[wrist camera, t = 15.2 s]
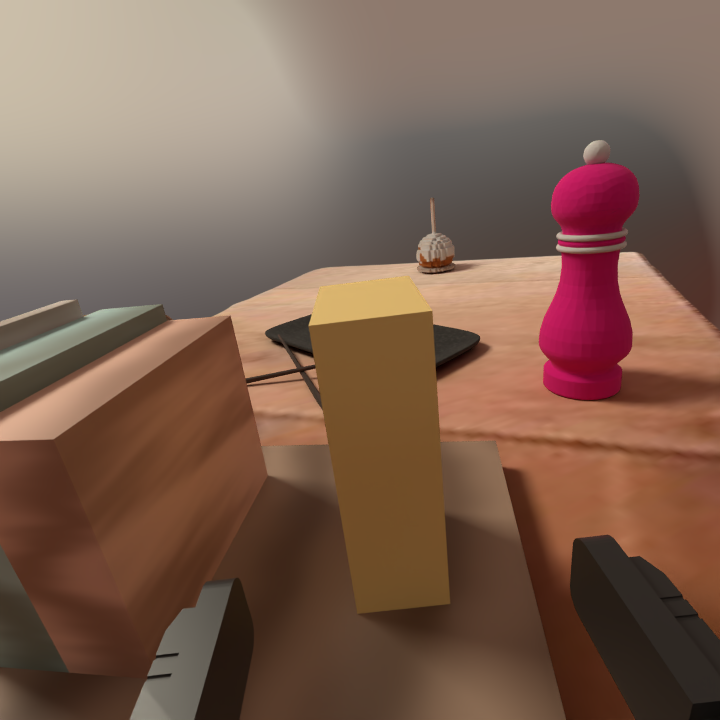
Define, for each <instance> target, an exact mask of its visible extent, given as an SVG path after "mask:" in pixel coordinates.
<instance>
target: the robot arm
mask: <svg viewBox="0 0 720 720" xmlns="http://www.w3.org/2000/svg"><path fill="white" fill-rule="evenodd" d="M570 590H571V596H572V600H573V603H574V606H575V609H576V611H577V613H578V615H579V617H580V619H581V621H582V623H583V625H584V626H585V628H586V630H587V632H588V634H589V635H590V637H591V639H592V641H593V643H594V645H595V646H596V648H597V650H598V652H599V654H600V655H601V657H602V659H603V661H604V663H605V665H606V666H607V668H608V670H609V672H610V674H611V675H612V677H613V679H614V681H615V683H616V685H617V686H618V688H619V690H620V692H621V694H622V695H623V697H624V699H625V701H626V703H627V705H628V706H629V708H630V710H631V712H632V714H633V715H634V717H635V719H636V720H720V640H719V639H718V637H717V636H716V635H715V634H714V633H713V631H712V630H711V629H710V628H709V627H708V625H707V624H706V623H705V622H704V621H703V619H700V618H699V617H698V613H697V612H696V611H695V610H694V609H693V607H692V606H691V605H690V604H689V603H688V601H687V600H684V599H683V597H682V594H681V593H680V592H679V591H678V589H677V588H676V587H675V586H674V585H673V583H672V582H671V581H670V580H669V579H668V577H667V576H666V575H665V574H664V573H663V572H661V571H660V570H659V569H657V568H656V567H654V566H653V565H652V564H650V563H649V562H647V561H646V560H645V559H643V558H642V557H640V556H637V557H628V556H627V555H626V553H625V552H624V551H623V550H622V548H621V547H620V546H619V544H618V543H617V542H616V541H615V539H614V538H613V537H611V536H610V535H601V536H593V537H585V538H576V539H575V540H574V542H573V552H572V565H571V579H570ZM253 646H254V627H253V621H252V617H251V614H250V610H249V607H248V604H247V600H246V597H245V593H244V590H243V587H242V583H241V581H240V579H239V578H230V579H221V580H213V581H207V582H205V584H204V585H203V587H202V590H201V593H200V595H199V598H198V601H197V604H196V607H194V608H186V609H182V610H181V612H180V613H179V614H178V615H177V617H176V618H175V619H174V621H173V622H172V623H171V624H170V626H169V627H168V628H167V629H166V631H165V633H164V636H163V638H162V641H161V643H160V646H159V648H158V651H157V653H156V659H155V660H153V663H152V665H151V668H150V670H149V673H148V675H147V681H145V683H144V685H143V688H142V690H141V693H140V695H139V698H138V700H137V703H136V705H135V708H134V710H133V712H132V715H131V717H130V720H239V719H240V714H241V709H242V704H243V699H244V694H245V689H246V684H247V679H248V673H249V668H250V663H251V658H252V653H253Z"/></svg>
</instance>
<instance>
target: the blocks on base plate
mask: <svg viewBox="0 0 720 720" xmlns="http://www.w3.org/2000/svg"><path fill="white" fill-rule="evenodd" d="M440 445H441V462H442V478H443V494H444V510H445V527H446V543H447V559H448V576H449V592H450V604H445V605H436V606H426V607H417V608H408V609H398V610H389V611H379V612H370V613H360V614H357V609H356V603H355V597H354V591H353V585H352V579H351V573H350V567H349V561H348V556H347V550H346V544H345V538H344V532H343V526H342V520H341V514H340V508H339V503H338V497H337V491H336V485H335V479H334V473H333V467H332V461H331V455H330V450H329V445H292V446H261V443H260V439H259V435H258V430H257V426H256V422H255V418H254V413H253V409H252V405H251V401H250V396H249V392H248V388H247V384H246V379H245V375H244V371H243V367H242V362H241V358H240V354H239V350H238V345H237V341H236V337H235V333H234V328H233V324H232V320H231V316H220V317H208V318H195V319H183V320H170V321H167V319H166V315H165V312H164V308H163V305H162V304H159V305H148V306H137V307H126V308H114V309H103V310H99V311H97V312H94V313H92V314H90V315H87V316H84V317H83V314H82V311H81V309H80V306H79V303H78V300H67V301H60V302H57V303H55V304H52V305H48V306H46V307H43V308H40V309H37V310H34V311H31V312H28V313H25V314H22V315H19V316H16V317H13V318H10V319H7V320H4V321H1V322H0V720H130V717H131V715H132V712H133V710H134V708H135V705H136V703H137V700H138V698H139V695H140V693H141V690H142V688H143V685H144V683H145V681H147V675H148V673H149V670H150V668H151V665H152V663H153V660H155V659H156V653H157V651H158V648H159V646H160V643H161V641H162V638H163V636H164V633H165V631H166V629H167V628H168V627H169V626H170V624H171V623H172V622H173V621H174V619H175V618H176V617H177V615H178V614H179V613H180V612H181V610H182V609H186V608H194V607H196V604H197V601H198V598H199V595H200V593H201V590H202V587H203V585H204V584H205V582H207V581H213V580H221V579H230V578H239V579H240V581H241V583H242V587H243V590H244V593H245V597H246V600H247V604H248V607H249V610H250V614H251V617H252V621H253V627H254V646H253V653H252V658H251V663H250V668H249V673H248V679H247V684H246V689H245V694H244V699H243V704H242V709H241V714H240V719H239V720H566V717H565V713H564V709H563V705H562V701H561V697H560V693H559V689H558V685H557V681H556V677H555V674H554V670H553V666H552V662H551V658H550V654H549V650H548V646H547V642H546V638H545V634H544V630H543V626H542V622H541V618H540V614H539V610H538V606H537V602H536V598H535V595H534V591H533V587H532V583H531V579H530V575H529V571H528V567H527V563H526V559H525V555H524V551H523V547H522V543H521V539H520V535H519V531H518V527H517V523H516V520H515V516H514V512H513V508H512V504H511V500H510V496H509V492H508V488H507V484H506V480H505V476H504V472H503V468H502V464H501V460H500V456H499V452H498V448H497V444H496V441H462V442H440Z"/></svg>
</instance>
